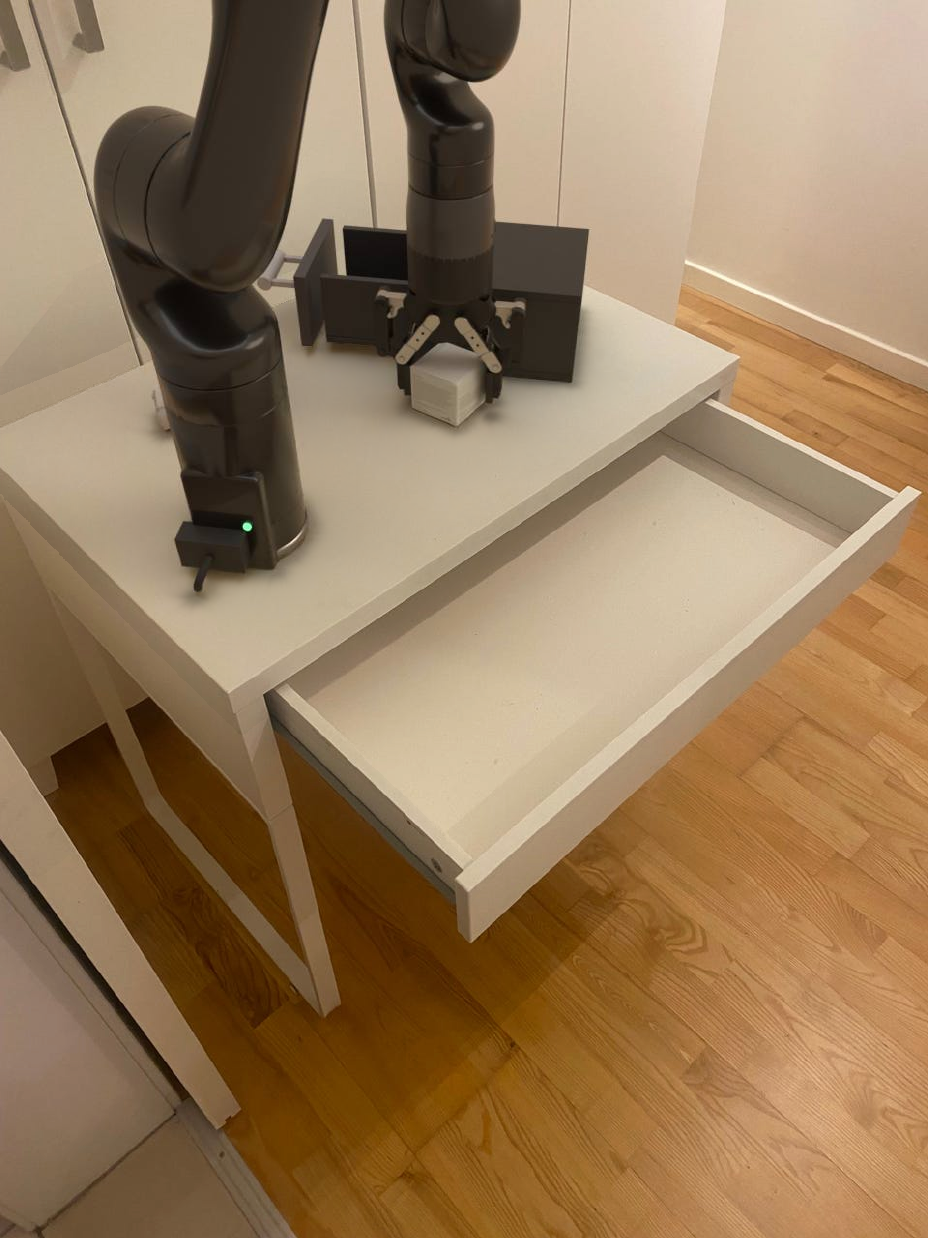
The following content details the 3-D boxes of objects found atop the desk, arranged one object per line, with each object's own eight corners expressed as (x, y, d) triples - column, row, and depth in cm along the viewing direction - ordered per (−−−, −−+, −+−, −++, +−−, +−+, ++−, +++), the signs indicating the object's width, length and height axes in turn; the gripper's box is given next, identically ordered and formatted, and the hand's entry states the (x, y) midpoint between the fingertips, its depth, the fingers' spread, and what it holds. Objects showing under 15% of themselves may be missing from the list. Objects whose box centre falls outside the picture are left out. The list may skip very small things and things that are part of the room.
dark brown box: (411, 367, 99) (409, 280, 92) (432, 299, 108) (431, 215, 101) (571, 382, 98) (582, 295, 91) (579, 312, 107) (589, 228, 100)
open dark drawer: (255, 341, 100) (243, 272, 94) (285, 282, 108) (276, 214, 102) (448, 359, 98) (449, 289, 93) (465, 297, 107) (466, 229, 101)
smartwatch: (183, 435, 91) (174, 399, 88) (159, 438, 90) (150, 403, 87) (179, 413, 93) (171, 378, 90) (157, 416, 93) (147, 381, 90)
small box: (441, 380, 97) (441, 338, 94) (489, 400, 95) (491, 357, 92) (408, 408, 94) (407, 365, 91) (457, 428, 92) (457, 385, 89)
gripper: (359, 248, 80) (370, 411, 92) (529, 262, 79) (518, 425, 91) (376, 207, 85) (385, 366, 97) (537, 220, 84) (525, 379, 96)
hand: (449, 394), depth 94 cm, fingers open, 7 cm apart
